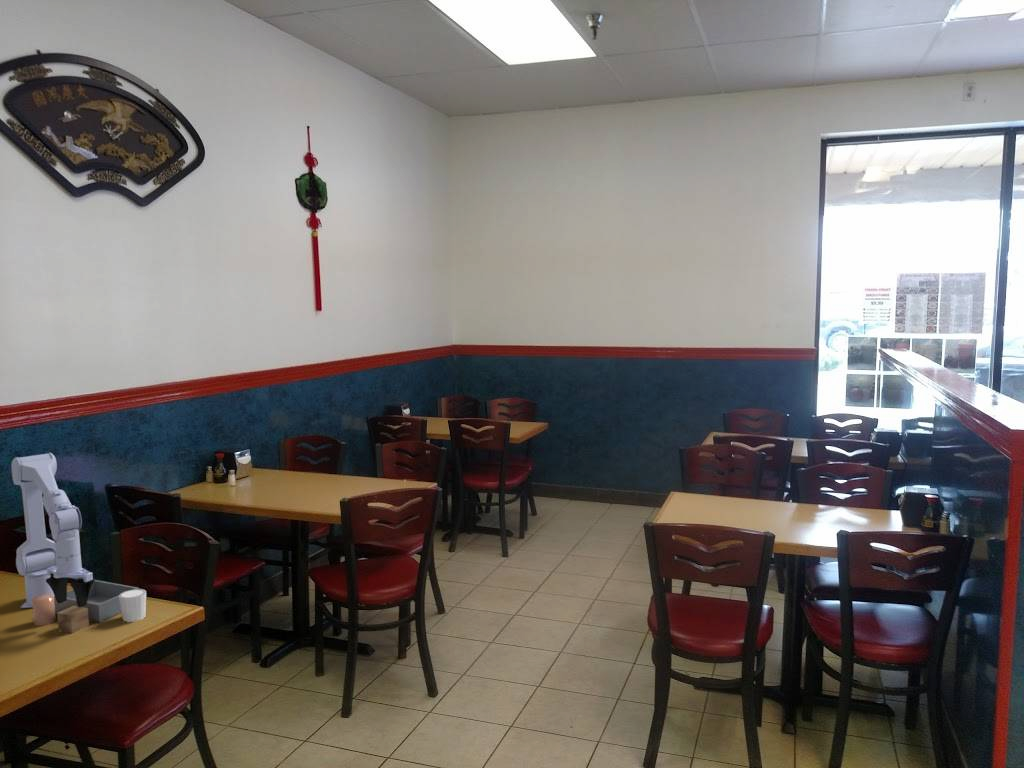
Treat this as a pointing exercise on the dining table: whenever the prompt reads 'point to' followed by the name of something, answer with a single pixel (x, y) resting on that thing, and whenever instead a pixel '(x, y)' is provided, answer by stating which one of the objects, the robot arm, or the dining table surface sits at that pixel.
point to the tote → (98, 600)
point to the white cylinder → (133, 604)
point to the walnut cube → (73, 619)
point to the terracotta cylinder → (44, 609)
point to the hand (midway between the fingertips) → (72, 603)
